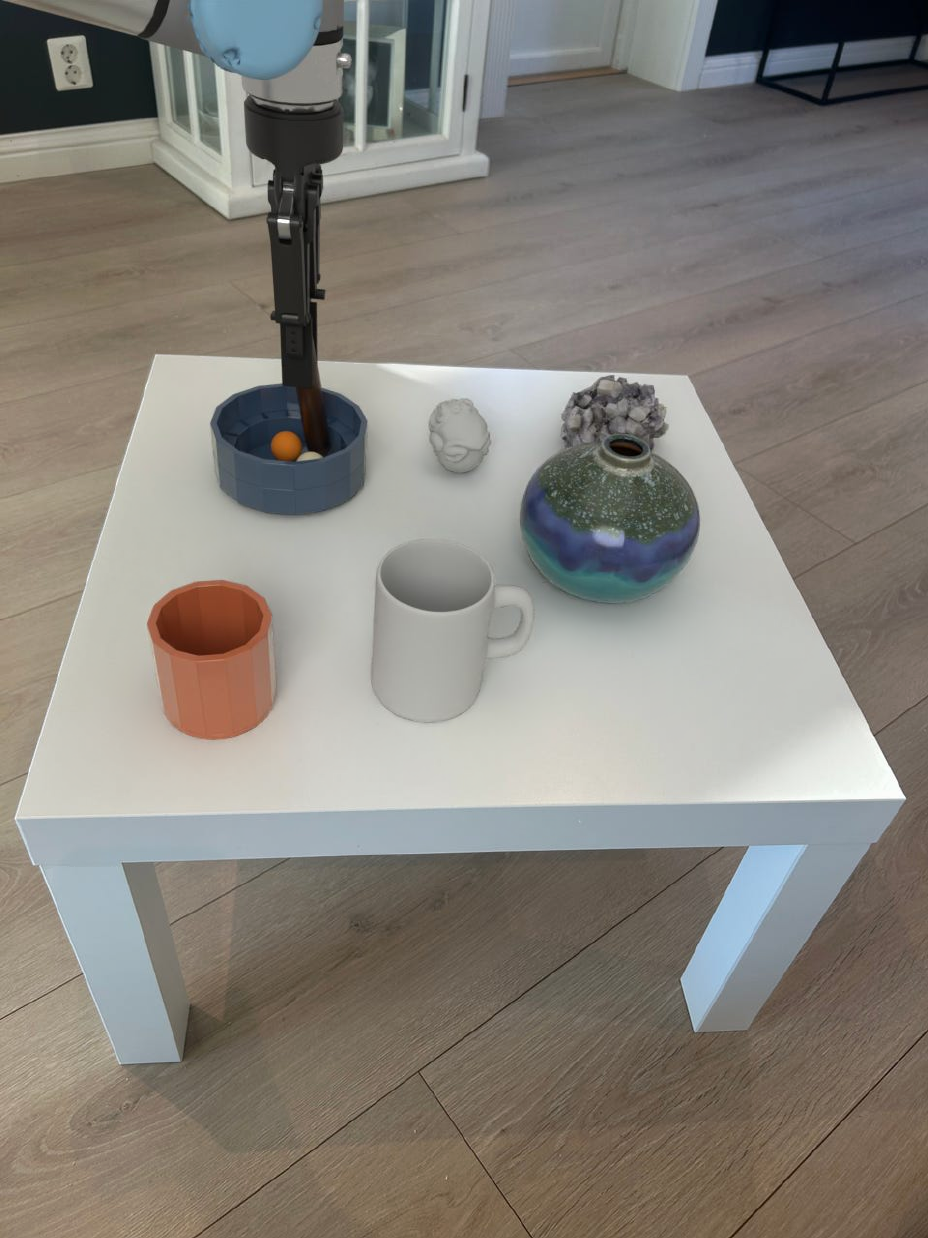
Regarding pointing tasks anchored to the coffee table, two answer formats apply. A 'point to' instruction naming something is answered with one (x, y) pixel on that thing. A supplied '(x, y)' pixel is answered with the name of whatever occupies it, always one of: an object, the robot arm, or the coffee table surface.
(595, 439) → the mineral specimen
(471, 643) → the mug
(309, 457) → the ball
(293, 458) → the ball
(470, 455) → the frog figurine
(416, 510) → the coffee table surface
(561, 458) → the vase
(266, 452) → the bowl
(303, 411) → the stick
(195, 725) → the holder
